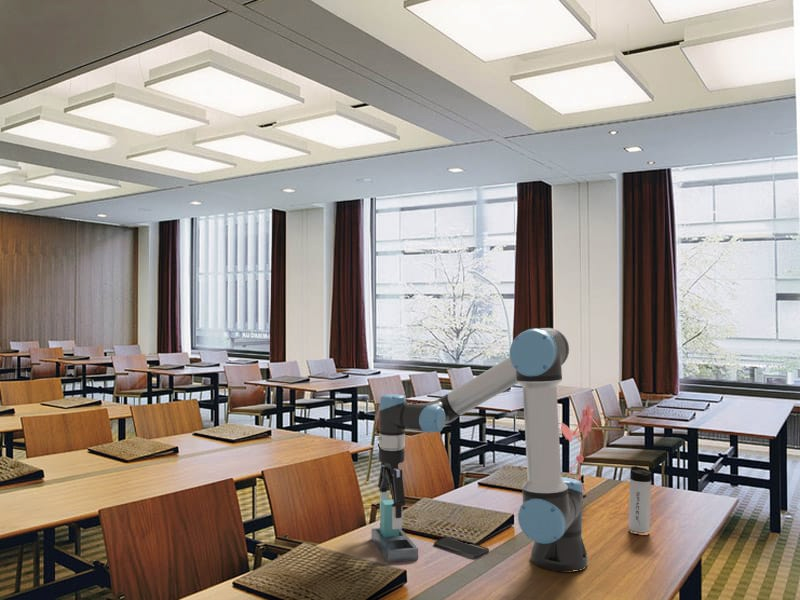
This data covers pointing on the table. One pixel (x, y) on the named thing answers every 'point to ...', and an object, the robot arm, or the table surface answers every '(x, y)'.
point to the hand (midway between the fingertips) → (390, 521)
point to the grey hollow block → (395, 546)
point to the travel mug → (639, 500)
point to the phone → (461, 547)
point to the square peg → (387, 519)
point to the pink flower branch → (584, 426)
